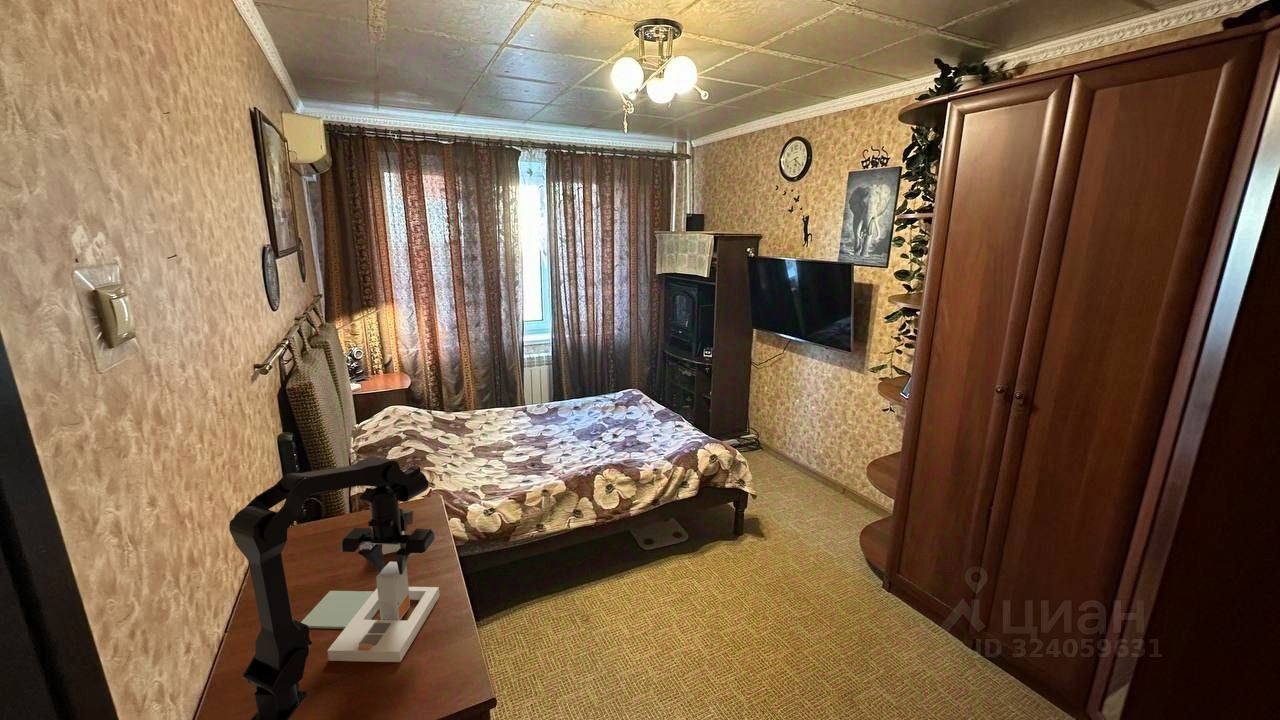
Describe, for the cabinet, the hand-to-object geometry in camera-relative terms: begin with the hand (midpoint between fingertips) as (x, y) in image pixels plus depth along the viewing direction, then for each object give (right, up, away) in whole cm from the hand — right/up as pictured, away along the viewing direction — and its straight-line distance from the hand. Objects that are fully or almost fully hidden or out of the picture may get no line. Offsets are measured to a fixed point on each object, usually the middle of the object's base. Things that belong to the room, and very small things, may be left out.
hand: (392, 573), depth 119 cm
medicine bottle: (-14, -5, +29) cm, 32 cm away
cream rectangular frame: (0, -11, -1) cm, 11 cm away
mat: (-14, -10, +4) cm, 18 cm away
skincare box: (0, -11, +2) cm, 11 cm away
